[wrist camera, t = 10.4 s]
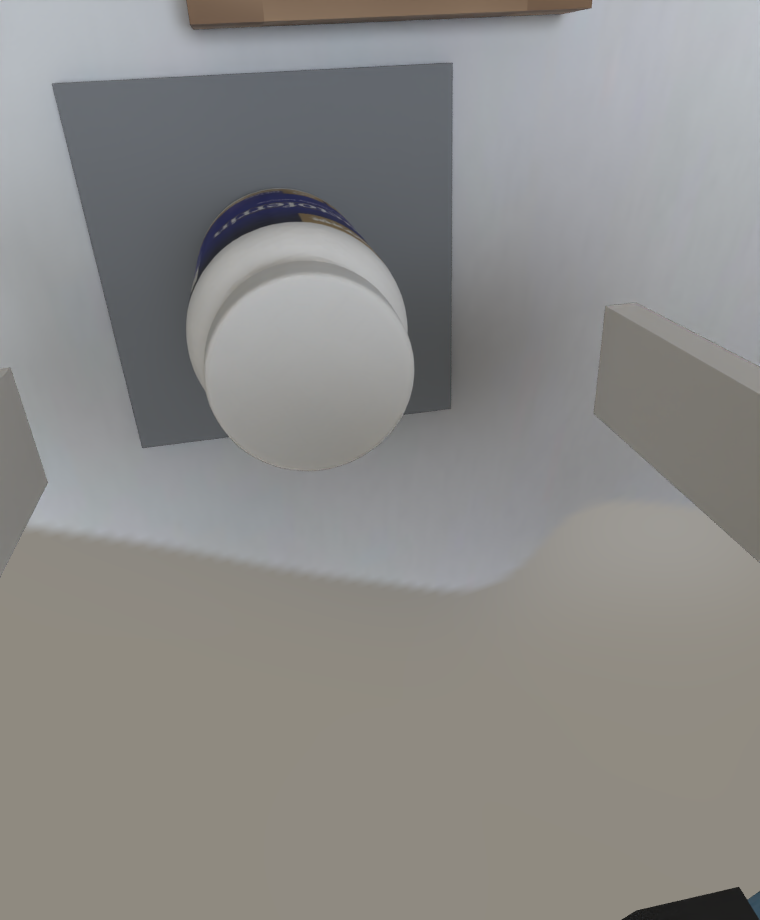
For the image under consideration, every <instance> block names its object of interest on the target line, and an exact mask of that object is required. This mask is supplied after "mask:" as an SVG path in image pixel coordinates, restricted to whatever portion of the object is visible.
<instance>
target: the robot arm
mask: <svg viewBox="0 0 760 920" xmlns="http://www.w3.org/2000/svg"><path fill="white" fill-rule="evenodd" d="M594 414H595V415H596V416H597V417H598V418H599V419H600V420H601V421H602V422H603V423H605V424H606V425H607V426H608V427H609V428H610V429H611V430H612V431H613V432H615V433H616V434H617V435H618V436H619V437H620V438H621V439H622V440H624V441H625V442H626V443H627V444H628V445H629V446H630V447H631V448H632V449H634V450H635V451H636V452H637V453H638V454H639V455H640V456H641V457H642V458H644V459H645V460H646V461H647V462H648V463H649V464H650V465H651V466H652V467H654V468H655V469H656V470H657V471H658V472H659V473H660V474H661V475H662V476H664V477H665V478H666V479H667V480H668V481H669V482H670V483H671V484H673V485H674V486H675V487H676V488H677V489H678V490H679V491H680V492H681V493H683V494H684V495H685V496H686V497H687V498H688V499H689V500H690V501H691V502H693V503H694V504H695V505H696V506H697V507H698V508H699V509H700V510H701V511H703V512H704V513H705V514H706V515H707V516H708V517H709V518H710V519H711V520H713V521H714V522H715V523H716V524H717V525H718V526H719V527H720V528H722V529H723V530H724V531H725V532H726V533H727V534H728V535H729V536H730V537H732V538H733V539H734V540H735V541H736V542H737V543H738V544H740V546H742V547H743V548H744V549H745V550H746V551H747V552H748V553H749V554H750V555H752V556H753V557H754V558H755V559H756V560H757V561H758V562H760V367H759V366H757V365H755V364H753V363H751V362H749V361H747V360H745V359H744V358H742V357H740V356H738V355H736V354H734V353H732V352H730V351H728V350H726V349H724V348H722V347H720V346H719V345H717V344H715V343H713V342H711V341H709V340H707V339H705V338H703V337H701V336H699V335H697V334H695V333H694V332H692V331H690V330H688V329H686V328H684V327H682V326H680V325H678V324H676V323H674V322H672V321H671V320H669V319H667V318H665V317H663V316H661V315H659V314H657V313H655V312H653V311H651V310H649V309H647V308H646V307H644V306H642V305H640V304H638V303H628V304H618V305H608V306H605V314H604V324H603V333H602V342H601V351H600V360H599V369H598V378H597V388H596V397H595V406H594ZM47 483H48V481H47V478H46V475H45V472H44V469H43V466H42V463H41V460H40V457H39V454H38V451H37V448H36V444H35V441H34V438H33V435H32V432H31V429H30V426H29V423H28V420H27V417H26V414H25V411H24V408H23V405H22V402H21V399H20V395H19V392H18V389H17V386H16V383H15V380H14V377H13V374H12V371H11V368H3V369H0V577H1V575H2V573H3V571H4V569H5V567H6V565H7V563H8V561H9V559H10V557H11V555H12V553H13V551H14V549H15V547H16V545H17V543H18V541H19V539H20V537H21V535H22V533H23V531H24V529H25V527H26V525H27V523H28V521H29V519H30V517H31V515H32V513H33V511H34V509H35V507H36V505H37V503H38V501H39V499H40V497H41V495H42V493H43V491H44V489H45V487H46V485H47ZM622 920H760V891H759V892H758V893H756V894H755V895H754V896H752V897H751V898H749V899H748V900H747V899H746V897H745V896H744V894H743V892H742V891H741V889H740V888H739V887H737V888H732V889H728V890H724V891H719V892H715V893H711V894H706V895H702V896H698V897H693V898H689V899H685V900H681V901H676V902H672V903H667V904H663V905H659V906H654V907H650V908H646V909H641V910H637V911H635V912H633V913H632V914H630V915H628V916H627V917H625V918H624V919H622Z"/></svg>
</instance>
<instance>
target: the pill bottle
mask: <svg viewBox="0 0 760 920" xmlns="http://www.w3.org/2000/svg"><path fill="white" fill-rule="evenodd" d="M407 332H408V326H407V316H406V310H405V306H404V302H403V298H402V295H401V293H400V290H399V288H398V286H397V283H396V281H395V280H394V278H393V276H392V274H391V273H390V271H389V269H388V268H387V267H386V265H385V264H384V262H383V261H382V260H381V259H380V258H379V256H378V255H377V254H376V253H375V252H374V251H373V249H372V248H371V247H370V246H369V245H368V244H367V242H366V241H365V240H364V238H363V237H362V236H361V235H360V234H359V233H358V232H357V231H356V230H355V229H354V227H353V226H352V225H351V224H350V223H349V222H348V220H347V219H346V218H345V217H344V216H343V215H342V214H341V213H340V212H339V211H337V210H336V209H335V208H334V207H333V206H331V205H330V204H328V203H327V202H325V201H324V200H322V199H320V198H318V197H316V196H314V195H311V194H309V193H306V192H303V191H299V190H295V189H287V188H272V189H265V190H260V191H257V192H254V193H250V194H248V195H246V196H243V197H241V198H240V199H238V200H236V201H234V202H233V203H232V204H230V205H229V206H227V207H226V208H225V209H224V210H223V211H222V212H221V213H220V214H219V215H218V216H217V218H216V219H215V220H214V221H213V223H212V224H211V226H210V228H209V229H208V231H207V233H206V235H205V237H204V239H203V242H202V244H201V247H200V250H199V254H198V259H197V264H196V270H195V275H194V280H193V285H192V290H191V294H190V299H189V304H188V310H187V317H186V339H187V346H188V352H189V356H190V360H191V363H192V366H193V369H194V372H195V374H196V376H197V378H198V380H199V382H200V383H201V385H202V387H203V388H204V390H205V392H206V396H207V399H208V402H209V405H210V407H211V410H212V412H213V414H214V416H215V418H216V419H217V421H218V423H219V424H220V426H221V427H222V429H223V430H224V431H225V433H226V434H227V435H228V436H229V437H230V438H231V439H232V440H233V441H234V442H235V443H236V444H237V445H238V446H239V447H240V448H241V449H243V450H244V451H245V452H247V453H248V454H250V455H251V456H253V457H255V458H257V459H259V460H261V461H263V462H265V463H268V464H271V465H273V466H276V467H280V468H284V469H290V470H298V471H316V470H324V469H330V468H334V467H338V466H341V465H344V464H347V463H349V462H352V461H354V460H356V459H358V458H360V457H362V456H363V455H365V454H366V453H368V452H369V451H371V450H372V449H374V448H375V447H377V446H378V445H379V444H380V443H381V442H382V441H383V440H384V439H385V438H386V437H387V436H388V435H389V434H390V433H391V432H392V431H393V429H394V428H395V427H396V425H397V424H398V422H399V421H400V419H401V417H402V416H403V414H404V412H405V409H406V407H407V405H408V402H409V399H410V396H411V392H412V388H413V381H414V357H413V351H412V347H411V343H410V340H409V337H408V334H407Z"/></svg>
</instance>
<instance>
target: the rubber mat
mask: <svg viewBox="0 0 760 920" xmlns="http://www.w3.org/2000/svg"><path fill="white" fill-rule="evenodd" d="M452 80H453V63H438V64H419V65H399V66H380V67H361V68H342V69H322V70H303V71H284V72H265V73H245V74H226V75H207V76H188V77H168V78H149V79H130V80H111V81H91V82H72V83H53V84H52V86H53V90H54V94H55V98H56V102H57V106H58V110H59V114H60V118H61V122H62V126H63V130H64V134H65V138H66V142H67V146H68V151H69V155H70V159H71V163H72V167H73V171H74V175H75V179H76V183H77V187H78V191H79V195H80V199H81V203H82V207H83V211H84V215H85V219H86V223H87V227H88V231H89V235H90V239H91V243H92V247H93V251H94V255H95V259H96V263H97V268H98V272H99V276H100V280H101V284H102V288H103V292H104V296H105V300H106V304H107V308H108V312H109V316H110V320H111V324H112V328H113V332H114V336H115V340H116V344H117V348H118V352H119V356H120V360H121V364H122V368H123V372H124V376H125V380H126V385H127V389H128V393H129V397H130V401H131V405H132V409H133V413H134V417H135V421H136V425H137V429H138V433H139V437H140V441H141V445H142V448H147V447H155V446H163V445H171V444H179V443H186V442H194V441H202V440H210V439H218V438H225V437H229V436H228V435H227V434H226V433H225V431H224V430H223V429H222V427H221V426H220V424H219V423H218V421H217V419H216V418H215V416H214V414H213V412H212V410H211V407H210V405H209V402H208V399H207V396H206V392H205V390H204V388H203V387H202V385H201V383H200V382H199V380H198V378H197V376H196V374H195V372H194V369H193V366H192V363H191V360H190V356H189V352H188V346H187V339H186V317H187V310H188V304H189V299H190V294H191V290H192V285H193V280H194V275H195V270H196V264H197V259H198V254H199V250H200V247H201V244H202V242H203V239H204V237H205V235H206V233H207V231H208V229H209V228H210V226H211V224H212V223H213V221H214V220H215V219H216V218H217V216H218V215H219V214H220V213H221V212H222V211H223V210H224V209H225V208H226V207H227V206H229V205H230V204H232V203H233V202H234V201H236V200H238V199H240V198H241V197H243V196H246V195H248V194H250V193H254V192H257V191H260V190H265V189H272V188H287V189H295V190H299V191H303V192H306V193H309V194H311V195H314V196H316V197H318V198H320V199H322V200H324V201H325V202H327V203H328V204H330V205H331V206H333V207H334V208H335V209H336V210H337V211H339V212H340V213H341V214H342V215H343V216H344V217H345V218H346V219H347V220H348V222H349V223H350V224H351V225H352V226H353V227H354V229H355V230H356V231H357V232H358V233H359V234H360V235H361V236H362V237H363V238H364V240H365V241H366V242H367V244H368V245H369V246H370V247H371V248H372V249H373V251H374V252H375V253H376V254H377V255H378V256H379V258H380V259H381V260H382V261H383V262H384V264H385V265H386V267H387V268H388V269H389V271H390V273H391V274H392V276H393V278H394V280H395V281H396V283H397V286H398V288H399V290H400V293H401V295H402V298H403V302H404V306H405V310H406V316H407V326H408V332H407V334H408V337H409V340H410V343H411V347H412V351H413V357H414V381H413V388H412V392H411V396H410V399H409V402H408V405H407V407H406V409H405V412H404V414H403V415H405V414H413V413H421V412H429V411H437V410H445V409H451V281H452Z"/></svg>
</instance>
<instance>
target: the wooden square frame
mask: <svg viewBox="0 0 760 920" xmlns="http://www.w3.org/2000/svg"><path fill="white" fill-rule="evenodd" d="M186 1H187V7H188V14H189V20H190V25H191V27H192V28H193V29H216V28H240V27H263V26H287V25H311V24H334V23H358V22H382V21H405V20H429V19H453V18H476V17H500V16H524V15H547V14H565V13H570V12H575V11H579V10H584V9H589V8H592V0H186Z"/></svg>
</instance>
